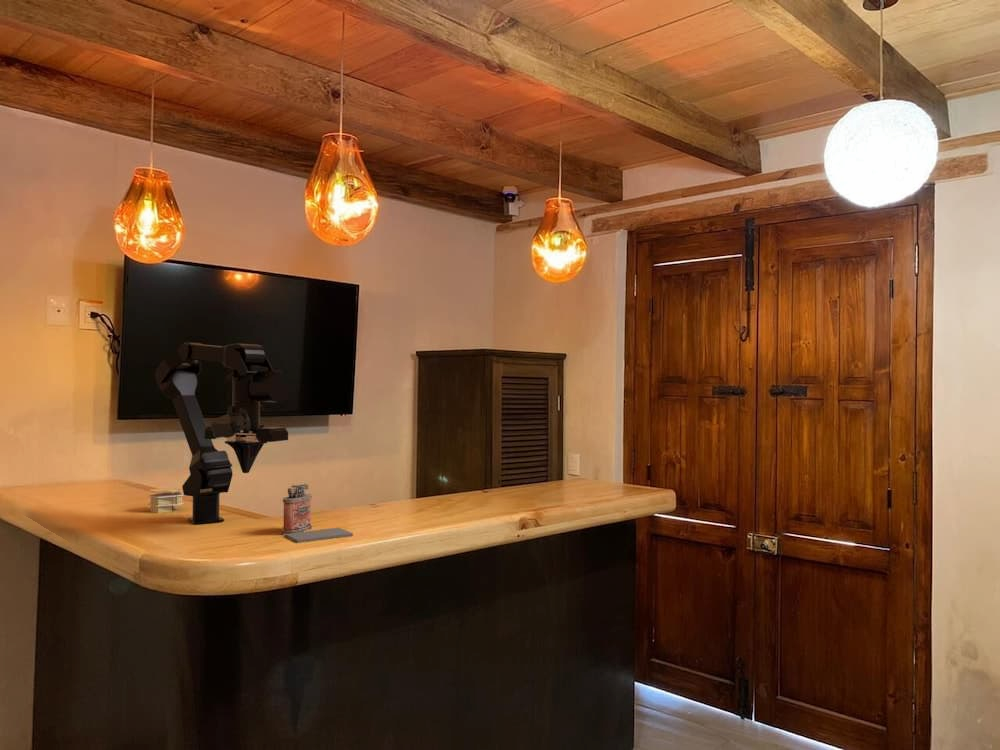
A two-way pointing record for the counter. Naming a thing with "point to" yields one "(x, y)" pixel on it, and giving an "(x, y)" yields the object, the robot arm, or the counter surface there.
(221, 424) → the robot arm
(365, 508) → the counter surface
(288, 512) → the lighter
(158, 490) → the stacked layers on plate
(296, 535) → the mat
